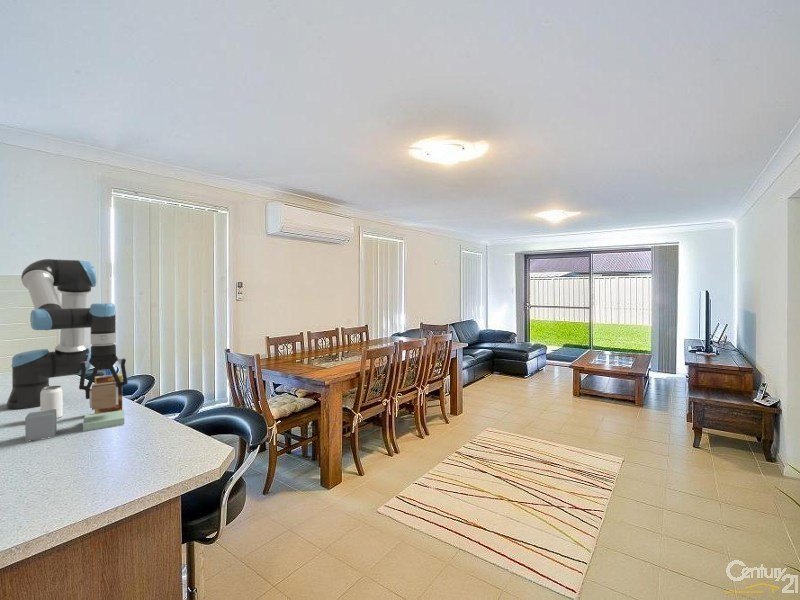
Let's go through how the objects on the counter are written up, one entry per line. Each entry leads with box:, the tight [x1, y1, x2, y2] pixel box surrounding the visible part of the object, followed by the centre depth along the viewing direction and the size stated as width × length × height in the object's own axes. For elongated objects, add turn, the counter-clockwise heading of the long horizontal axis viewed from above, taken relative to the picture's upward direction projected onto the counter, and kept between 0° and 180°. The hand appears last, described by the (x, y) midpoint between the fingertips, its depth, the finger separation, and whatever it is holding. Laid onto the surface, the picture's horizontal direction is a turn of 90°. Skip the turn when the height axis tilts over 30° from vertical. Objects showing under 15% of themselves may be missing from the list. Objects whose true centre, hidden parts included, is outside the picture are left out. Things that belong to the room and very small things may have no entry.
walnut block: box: [91, 382, 116, 411], centre depth 145 cm, size 7×7×8 cm
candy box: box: [94, 373, 123, 414], centre depth 159 cm, size 9×4×15 cm, turn 134°
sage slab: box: [82, 409, 125, 432], centre depth 146 cm, size 12×12×3 cm
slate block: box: [24, 409, 58, 442], centre depth 132 cm, size 7×7×8 cm
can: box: [39, 385, 64, 419], centre depth 152 cm, size 6×6×12 cm
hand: (104, 405), depth 146 cm, fingers closed on walnut block, 7 cm apart
